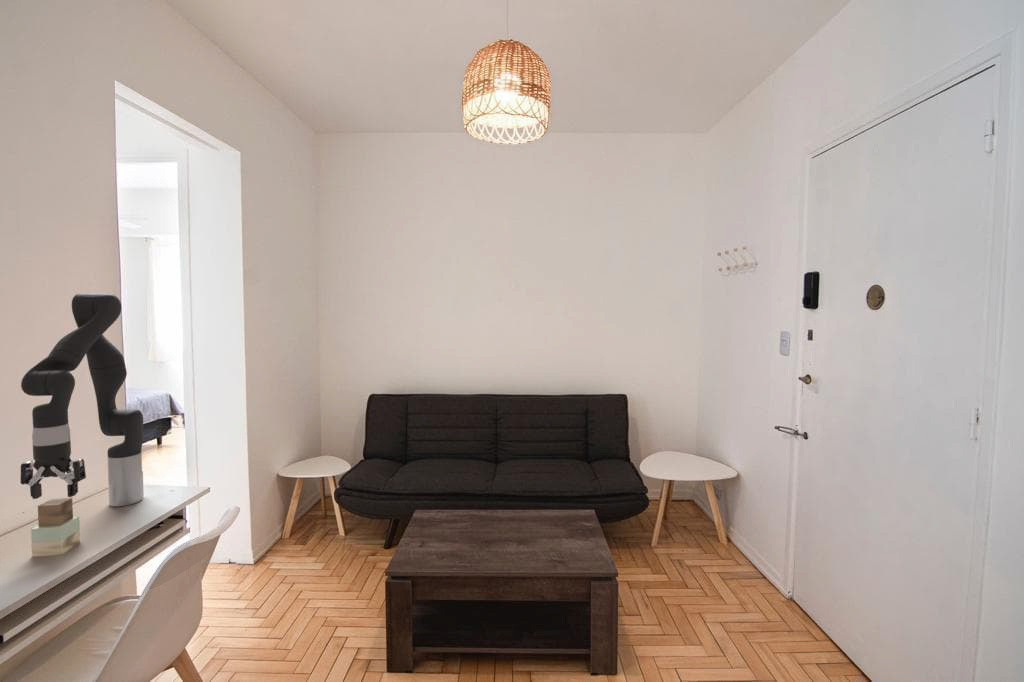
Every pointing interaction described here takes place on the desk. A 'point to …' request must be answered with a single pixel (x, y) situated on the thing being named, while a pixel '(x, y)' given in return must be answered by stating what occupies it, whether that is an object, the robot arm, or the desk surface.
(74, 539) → the lower slab
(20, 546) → the desk surface
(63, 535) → the upper slab
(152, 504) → the desk surface
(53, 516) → the walnut block
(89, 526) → the desk surface
